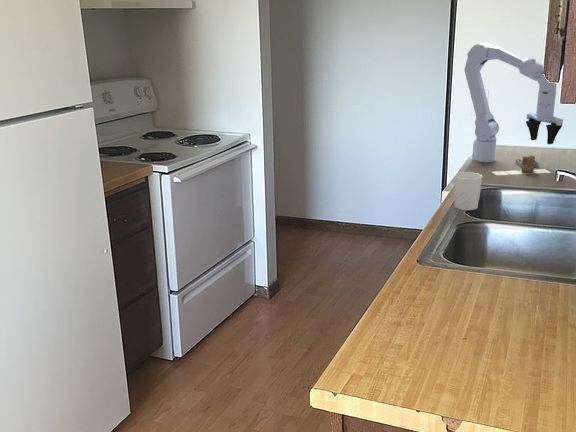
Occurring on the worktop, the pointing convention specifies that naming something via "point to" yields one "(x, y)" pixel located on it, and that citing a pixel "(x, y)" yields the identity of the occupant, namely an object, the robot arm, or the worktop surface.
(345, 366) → the worktop surface
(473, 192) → the white cup
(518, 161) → the button housing
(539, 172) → the board
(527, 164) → the brown wooden cylinder
